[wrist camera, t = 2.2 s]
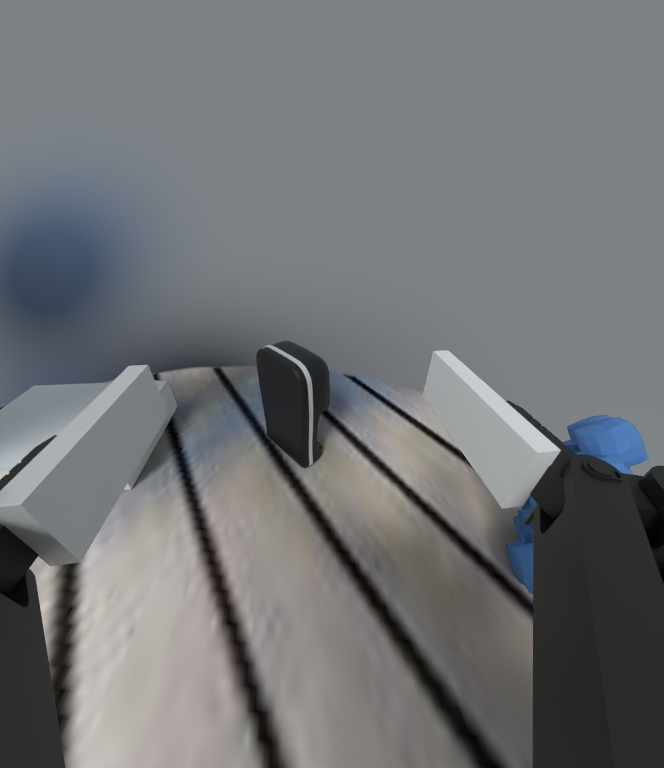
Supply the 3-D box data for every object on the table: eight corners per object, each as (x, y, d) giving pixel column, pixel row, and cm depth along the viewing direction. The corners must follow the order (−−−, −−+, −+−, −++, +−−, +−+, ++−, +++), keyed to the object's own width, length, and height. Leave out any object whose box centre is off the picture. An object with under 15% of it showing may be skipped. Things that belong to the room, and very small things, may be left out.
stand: (-52, 506, 22) (-92, 474, 20) (53, 413, 32) (34, 385, 30) (131, 489, 24) (112, 459, 22) (177, 406, 34) (167, 380, 32)
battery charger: (333, 452, 28) (337, 356, 22) (305, 473, 26) (301, 372, 20) (292, 420, 32) (286, 331, 26) (265, 435, 30) (251, 342, 24)
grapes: (490, 470, 27) (547, 367, 20) (573, 513, 23) (675, 404, 17) (446, 566, 20) (511, 453, 13) (557, 651, 16) (728, 554, 9)
